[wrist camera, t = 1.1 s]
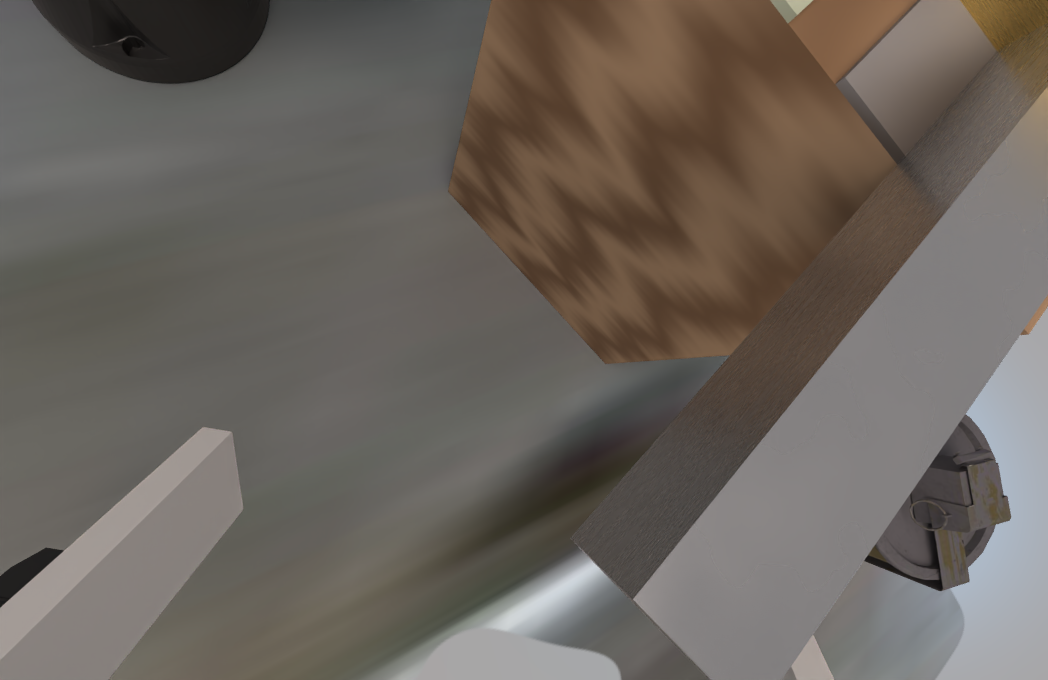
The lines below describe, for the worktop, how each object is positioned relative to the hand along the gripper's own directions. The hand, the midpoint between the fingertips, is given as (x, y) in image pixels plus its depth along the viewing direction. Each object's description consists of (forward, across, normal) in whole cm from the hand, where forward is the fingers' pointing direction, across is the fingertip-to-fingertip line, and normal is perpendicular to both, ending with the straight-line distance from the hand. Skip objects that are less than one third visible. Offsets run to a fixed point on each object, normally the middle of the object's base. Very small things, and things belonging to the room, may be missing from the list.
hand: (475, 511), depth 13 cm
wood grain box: (+33, +3, 0) cm, 33 cm away
